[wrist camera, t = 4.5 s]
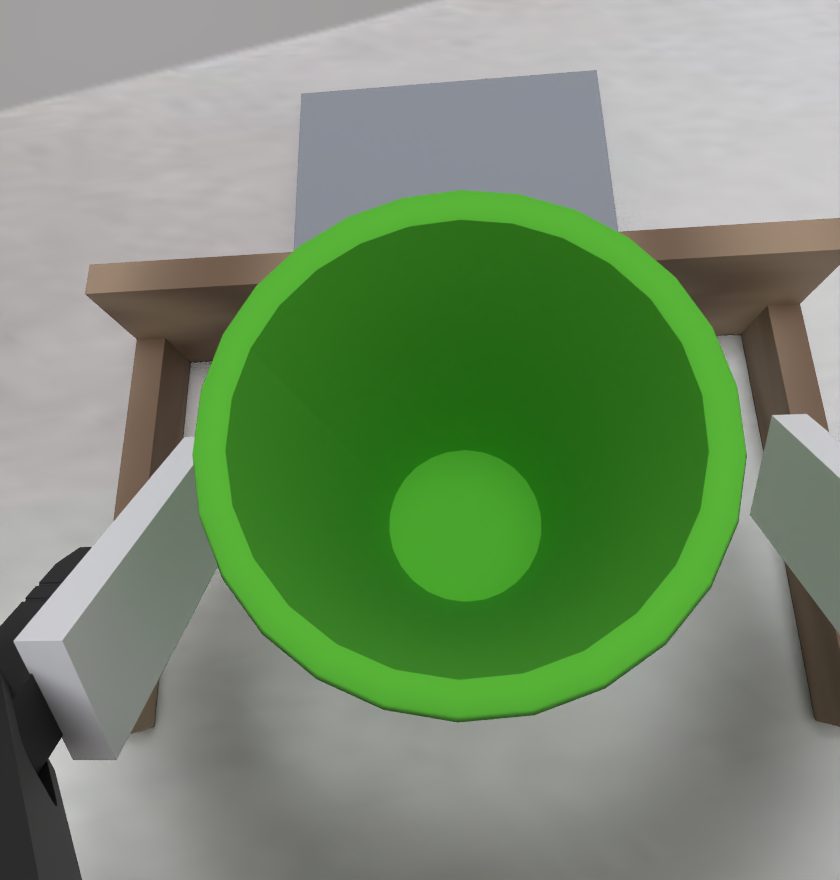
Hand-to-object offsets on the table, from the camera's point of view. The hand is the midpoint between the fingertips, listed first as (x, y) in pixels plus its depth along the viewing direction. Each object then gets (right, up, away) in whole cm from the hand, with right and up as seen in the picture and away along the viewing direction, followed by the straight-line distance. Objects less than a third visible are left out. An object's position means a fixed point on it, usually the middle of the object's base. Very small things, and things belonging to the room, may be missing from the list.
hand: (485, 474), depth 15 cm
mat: (0, +10, +9) cm, 14 cm away
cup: (0, -2, +6) cm, 6 cm away
